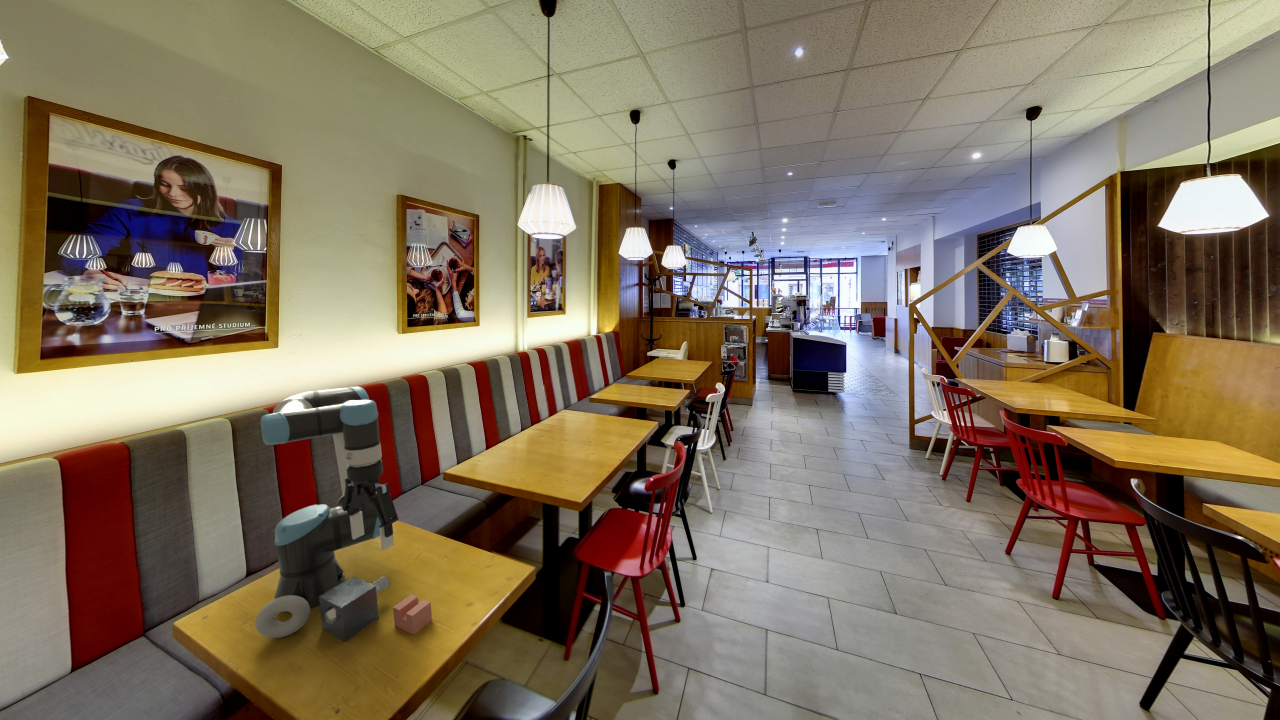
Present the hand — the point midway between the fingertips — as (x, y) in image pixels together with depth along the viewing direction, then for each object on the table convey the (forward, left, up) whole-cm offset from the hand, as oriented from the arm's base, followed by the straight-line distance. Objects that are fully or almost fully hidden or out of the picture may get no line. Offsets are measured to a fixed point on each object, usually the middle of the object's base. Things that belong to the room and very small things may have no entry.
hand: (372, 541), depth 104 cm
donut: (-11, -16, -18) cm, 26 cm away
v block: (+14, -1, -18) cm, 23 cm away
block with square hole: (0, -7, -18) cm, 19 cm away
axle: (0, -5, -13) cm, 14 cm away
